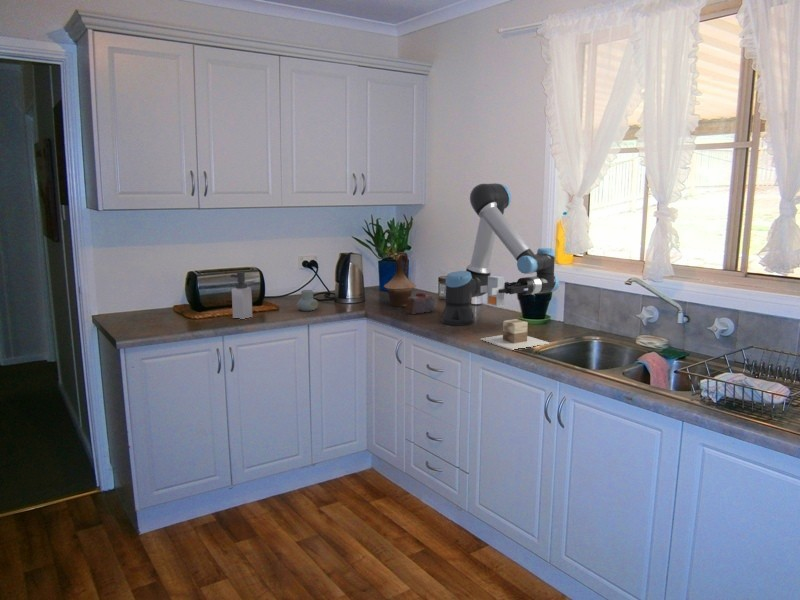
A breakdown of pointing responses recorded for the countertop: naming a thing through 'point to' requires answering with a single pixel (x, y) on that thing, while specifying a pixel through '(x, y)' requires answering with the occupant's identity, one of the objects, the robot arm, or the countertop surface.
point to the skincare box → (495, 283)
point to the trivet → (511, 346)
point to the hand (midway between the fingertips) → (486, 290)
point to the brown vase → (400, 282)
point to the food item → (420, 303)
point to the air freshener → (307, 301)
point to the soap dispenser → (241, 298)
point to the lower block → (515, 337)
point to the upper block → (515, 326)
